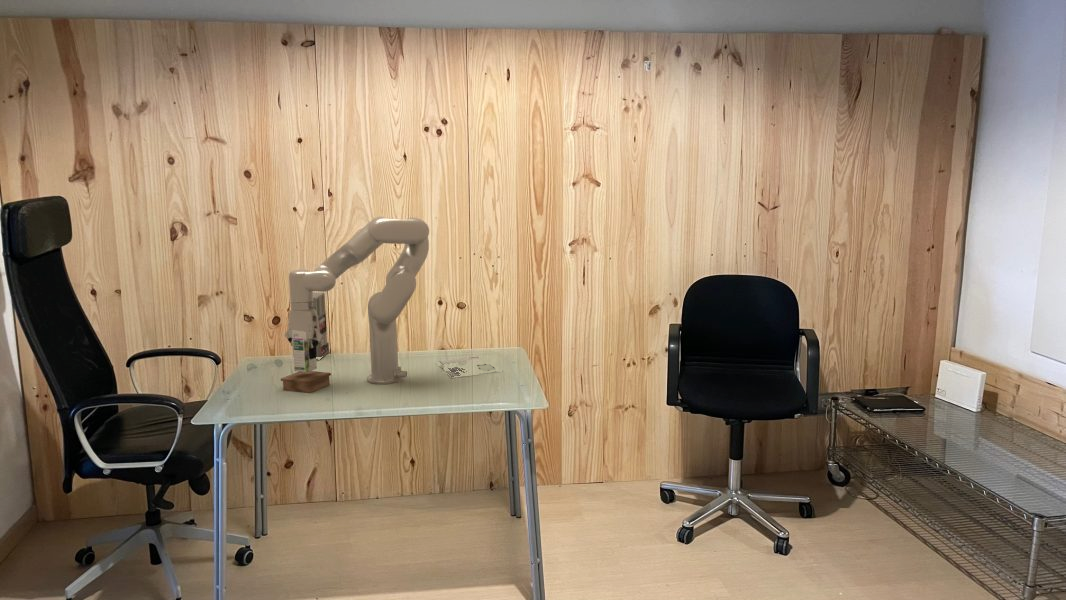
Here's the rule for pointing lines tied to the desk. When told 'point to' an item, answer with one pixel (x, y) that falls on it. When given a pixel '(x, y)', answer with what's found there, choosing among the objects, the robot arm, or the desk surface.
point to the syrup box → (302, 352)
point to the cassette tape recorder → (321, 323)
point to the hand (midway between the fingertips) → (304, 357)
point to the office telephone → (456, 367)
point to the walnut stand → (306, 381)
